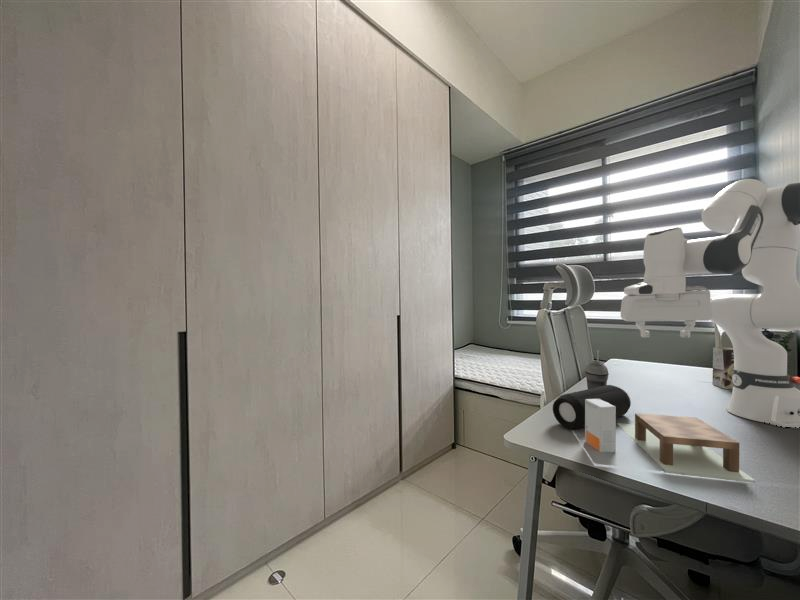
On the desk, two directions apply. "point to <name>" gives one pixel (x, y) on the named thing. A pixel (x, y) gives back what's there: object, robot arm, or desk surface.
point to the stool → (686, 437)
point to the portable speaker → (573, 404)
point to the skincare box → (600, 425)
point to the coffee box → (723, 367)
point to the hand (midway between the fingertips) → (664, 337)
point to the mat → (687, 458)
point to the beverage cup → (596, 374)
